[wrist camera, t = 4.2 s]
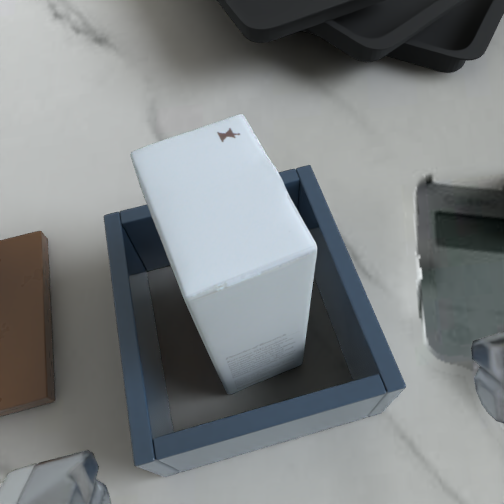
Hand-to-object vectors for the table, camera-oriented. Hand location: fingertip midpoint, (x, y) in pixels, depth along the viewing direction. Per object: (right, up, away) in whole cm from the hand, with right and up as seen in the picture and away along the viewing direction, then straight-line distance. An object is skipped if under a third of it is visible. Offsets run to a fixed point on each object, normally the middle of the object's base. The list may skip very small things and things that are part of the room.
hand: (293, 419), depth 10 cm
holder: (-1, -1, +15) cm, 15 cm away
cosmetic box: (-1, -1, +15) cm, 15 cm away
